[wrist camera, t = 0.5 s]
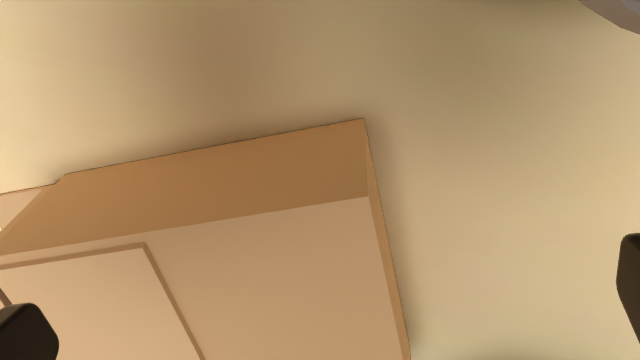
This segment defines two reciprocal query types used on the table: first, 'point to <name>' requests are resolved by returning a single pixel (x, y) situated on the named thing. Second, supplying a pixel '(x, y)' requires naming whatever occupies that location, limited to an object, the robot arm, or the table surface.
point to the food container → (618, 12)
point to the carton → (214, 254)
